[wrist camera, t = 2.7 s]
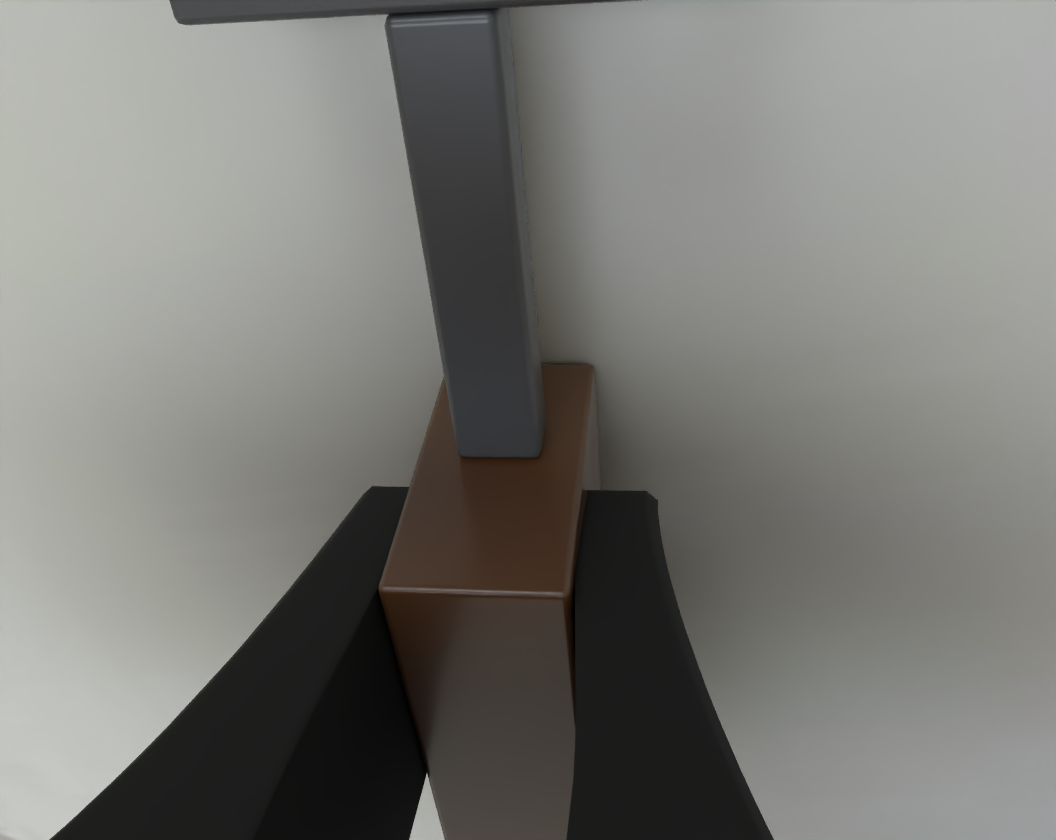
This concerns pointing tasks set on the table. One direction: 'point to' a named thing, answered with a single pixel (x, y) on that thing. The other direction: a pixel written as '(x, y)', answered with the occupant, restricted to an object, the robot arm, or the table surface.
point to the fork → (479, 435)
